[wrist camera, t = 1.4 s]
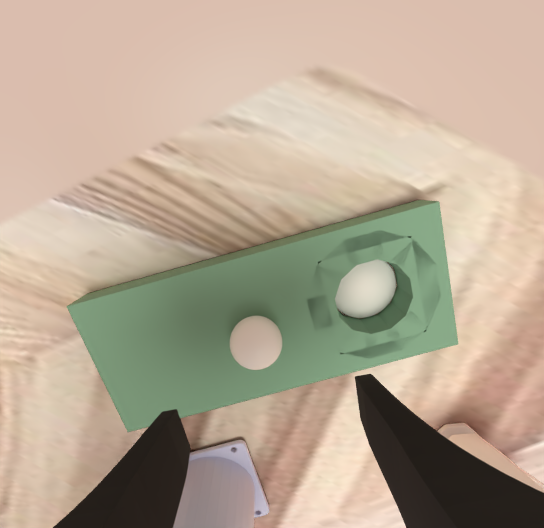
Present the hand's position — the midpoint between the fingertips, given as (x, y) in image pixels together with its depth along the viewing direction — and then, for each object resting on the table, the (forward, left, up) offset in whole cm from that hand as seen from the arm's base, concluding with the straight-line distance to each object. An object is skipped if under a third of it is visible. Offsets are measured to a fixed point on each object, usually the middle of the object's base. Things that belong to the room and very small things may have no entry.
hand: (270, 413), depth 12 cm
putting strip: (0, 0, -11) cm, 11 cm away
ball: (-1, 0, -7) cm, 7 cm away
